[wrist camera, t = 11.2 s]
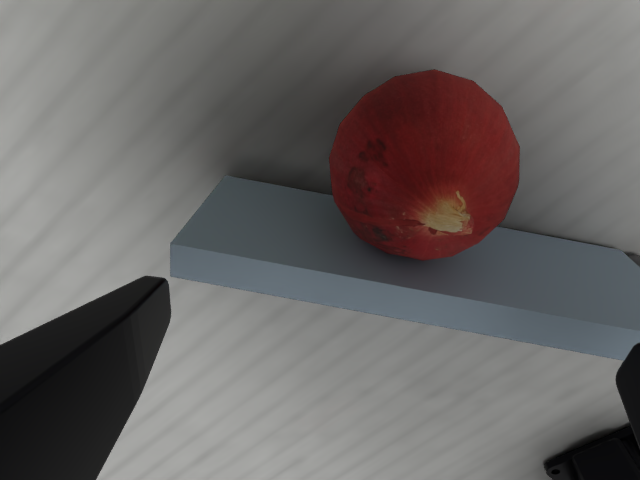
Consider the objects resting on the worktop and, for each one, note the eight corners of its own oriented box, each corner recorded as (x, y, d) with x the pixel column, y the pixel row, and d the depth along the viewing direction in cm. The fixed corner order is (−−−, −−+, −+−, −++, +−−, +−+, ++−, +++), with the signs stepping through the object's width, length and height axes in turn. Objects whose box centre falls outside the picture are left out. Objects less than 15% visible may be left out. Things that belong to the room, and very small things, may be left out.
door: (650, 255, 18) (781, 365, 12) (635, 278, 19) (754, 392, 13) (225, 175, 18) (165, 250, 12) (223, 200, 18) (165, 283, 13)
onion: (377, 227, 19) (389, 354, 12) (308, 114, 17) (271, 186, 10) (505, 162, 17) (609, 267, 10) (445, 27, 15) (522, 39, 8)
